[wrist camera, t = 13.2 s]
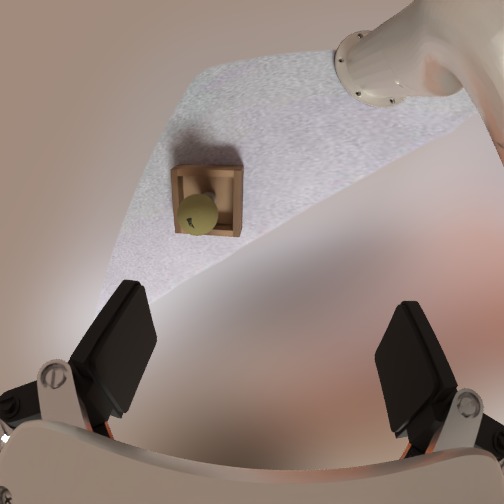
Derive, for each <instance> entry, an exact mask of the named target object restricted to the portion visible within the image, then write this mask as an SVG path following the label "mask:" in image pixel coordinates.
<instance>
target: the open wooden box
mask: <svg viewBox="0 0 504 504" xmlns="http://www.w3.org/2000/svg"><path fill="white" fill-rule="evenodd" d="M243 173H244V166H233V165H177V166H176V167H174V168H173V169H171V183H172V199H173V212H174V224H175V233H183V234H188V233H186V232H185V231H184V230H183V229H182V228H181V227H180V225H179V223H178V221H177V209H178V207H179V205H180V203H181V202H182V201H183V200H184V199H185V198H186V197H188V196H190V195H193V194H204V193H205V192H212V193H213V194H214V195H215V196H216V203H215V204H216V206H217V208H218V220H217V223H216V225H215V226H214V228H213V229H212V230H211V231H210V232H208V233H206V234H204V235H214V236H229V237H240V233H241V230H242V210H243Z"/></svg>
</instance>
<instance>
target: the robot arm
mask: <svg viewBox="0 0 504 504" xmlns="http://www.w3.org/2000/svg"><path fill="white" fill-rule="evenodd" d="M358 36H360V38H358ZM339 60H341V61H342V62H339ZM335 68H336V72H337V75H338V78H339V80H340V82H341V84H342V85H343V86H344V88H345V89H346V90H347V91H348V92H349V93H350V94H351V95H352V96H353V97H354V98H356V99H357V100H358V101H360V102H362V103H364V104H366V105H370V106H373V107H391V106H395V105H397V104H399V103H401V102H402V101H404V100H405V98H406V97H445V96H450V95H453V94H455V93H457V92H459V91H460V90H461V89H462V88H465V90H466V92H467V93H468V95H469V97H470V99H471V100H472V102H473V103H474V105H475V106H476V108H477V110H478V112H479V114H480V116H481V118H482V120H483V122H484V124H485V125H486V128H487V130H488V132H489V134H490V136H491V139H492V141H493V143H494V146H495V147H496V150H497V152H498V155H499V157H500V159H501V161H502V163H503V166H504V0H414V1H413V2H412V3H410V4H409V5H408V6H407V7H405V8H404V9H403V10H401V11H400V12H399V13H397V14H396V15H394V16H393V17H392V18H390V19H389V20H387V21H386V22H384V23H383V24H381V25H380V26H379V27H377V28H376V29H375V30H373V31H360V32H355V33H353V34H351V35H349V36H348V37H347V38H345V39H344V40H343V41H342V42H341V44H340V45H339V47H338V48H337V52H336V55H335ZM356 92H358V95H356ZM390 100H391V102H390ZM156 342H157V336H156V332H155V328H154V325H153V321H152V317H151V313H150V309H149V305H148V301H147V296H146V292H145V288H144V286H141V284H140V282H139V281H133V280H123V281H122V283H121V284H120V285H119V287H118V288H117V289H116V291H115V292H114V293H113V295H112V296H111V298H110V299H109V300H108V302H107V303H106V305H105V306H104V307H103V309H102V310H101V312H100V313H99V314H98V316H97V317H96V319H95V320H94V322H93V323H92V325H91V326H90V328H89V329H88V331H87V332H86V334H85V335H84V337H83V338H82V340H81V341H80V343H79V345H78V346H77V347H76V349H75V351H74V352H73V354H72V355H71V357H70V360H69V361H68V363H67V362H65V361H63V360H60V359H55V360H51V361H49V362H47V363H45V364H44V365H43V366H42V367H41V368H40V370H39V372H38V375H37V380H36V381H34V382H31V383H28V384H25V385H23V386H20V387H17V388H14V389H11V390H8V391H6V392H4V393H3V394H2V395H1V396H0V504H504V426H503V425H502V424H500V423H499V422H497V421H495V420H494V419H492V418H490V417H489V416H487V415H486V414H484V413H483V408H484V406H483V402H482V399H481V397H480V396H479V395H478V394H477V393H476V392H475V391H473V390H471V389H465V388H464V389H461V390H459V391H457V389H456V387H457V386H458V385H457V382H456V380H455V377H454V375H453V373H452V370H451V368H450V366H449V363H448V361H447V359H446V357H445V354H444V352H443V350H442V348H441V346H440V344H439V342H438V340H437V338H436V335H435V334H434V331H433V330H432V328H431V326H430V324H429V322H428V320H427V318H426V316H425V314H424V312H423V310H422V308H421V307H420V305H419V303H418V302H417V301H403V302H402V303H401V304H400V305H398V306H397V307H396V310H395V312H394V314H393V317H392V319H391V321H390V323H389V326H388V328H387V330H386V332H385V334H384V336H383V338H382V340H381V342H380V345H379V346H378V348H377V350H376V353H375V363H376V367H377V370H378V374H379V378H380V382H381V386H382V391H383V395H384V399H385V404H386V408H387V413H388V417H389V422H390V427H391V430H392V432H395V436H396V438H401V437H406V436H408V439H409V443H408V445H407V447H406V448H405V450H404V452H403V454H402V455H401V457H400V459H399V460H395V461H391V462H385V463H379V464H373V465H366V466H358V467H350V468H339V469H328V470H327V469H326V470H302V471H301V470H296V471H295V470H293V471H292V470H291V471H290V470H289V471H288V470H261V469H248V468H237V467H229V466H221V465H214V464H208V463H202V462H196V461H191V460H186V459H181V458H177V457H172V456H168V455H164V454H160V453H156V452H152V451H148V450H145V449H142V448H139V447H135V446H132V445H128V444H125V443H122V442H119V441H116V440H114V437H113V435H112V432H111V430H110V427H109V424H108V422H107V421H108V419H109V416H110V415H112V416H114V417H117V418H122V415H123V413H126V412H127V411H128V410H129V407H130V405H131V402H132V400H133V397H134V395H135V392H136V390H137V387H138V385H139V383H140V380H141V378H142V375H143V373H144V371H145V368H146V366H147V364H148V361H149V359H150V357H151V354H152V352H153V350H154V347H155V345H156Z"/></svg>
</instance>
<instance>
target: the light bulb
mask: <svg viewBox="0 0 504 504" xmlns="http://www.w3.org/2000/svg"><path fill="white" fill-rule="evenodd" d="M215 203H216V196H215V195H214V194H213V193H212V192H205V193H204V194H193V195H190V196H188V197H186V198H185V199H184V200H183V201H182V202H181V203H180V205H179V207H178V209H177V221H178V223H179V225H180V227H181V228H182V229H183V230H184V231H185V232H186V233H188V234H191V235H195V236H199V235H204V234H206V233H208V232H210V231H211V230H212V229H213V228H214V226H215V225H216V223H217V220H218V208H217V206H216V204H215Z"/></svg>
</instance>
